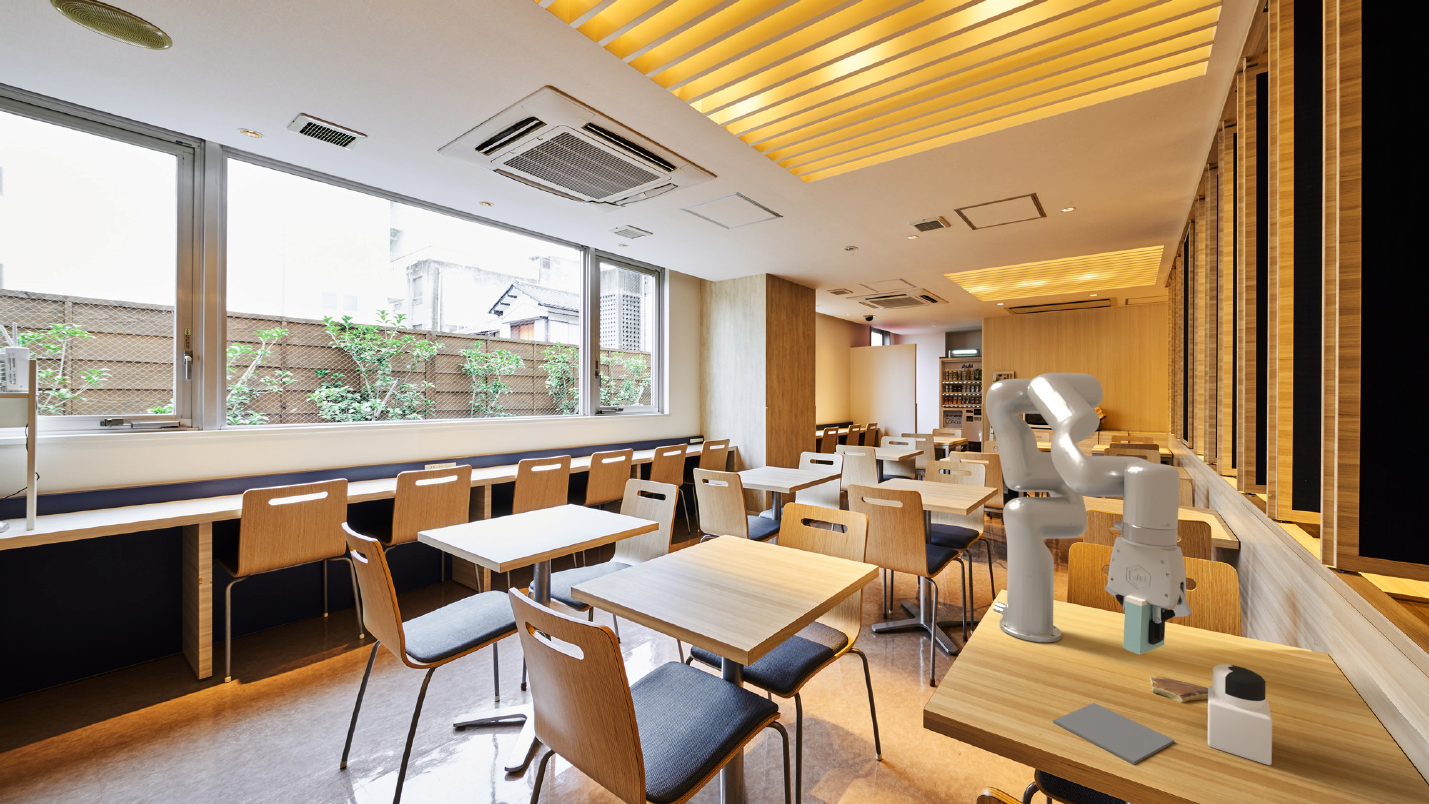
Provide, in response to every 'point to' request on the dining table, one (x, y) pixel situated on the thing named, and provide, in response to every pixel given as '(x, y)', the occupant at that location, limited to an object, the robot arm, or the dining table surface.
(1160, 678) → the shard
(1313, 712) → the dining table surface
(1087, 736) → the mat
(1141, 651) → the slab
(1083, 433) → the robot arm
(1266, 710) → the medicine bottle
